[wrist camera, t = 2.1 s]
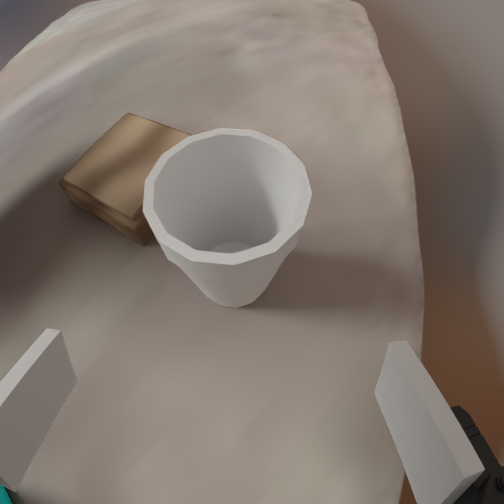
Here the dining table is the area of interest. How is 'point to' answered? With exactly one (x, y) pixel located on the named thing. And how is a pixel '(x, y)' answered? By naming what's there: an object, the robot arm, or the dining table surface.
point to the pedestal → (120, 173)
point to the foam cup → (228, 210)
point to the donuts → (4, 496)
